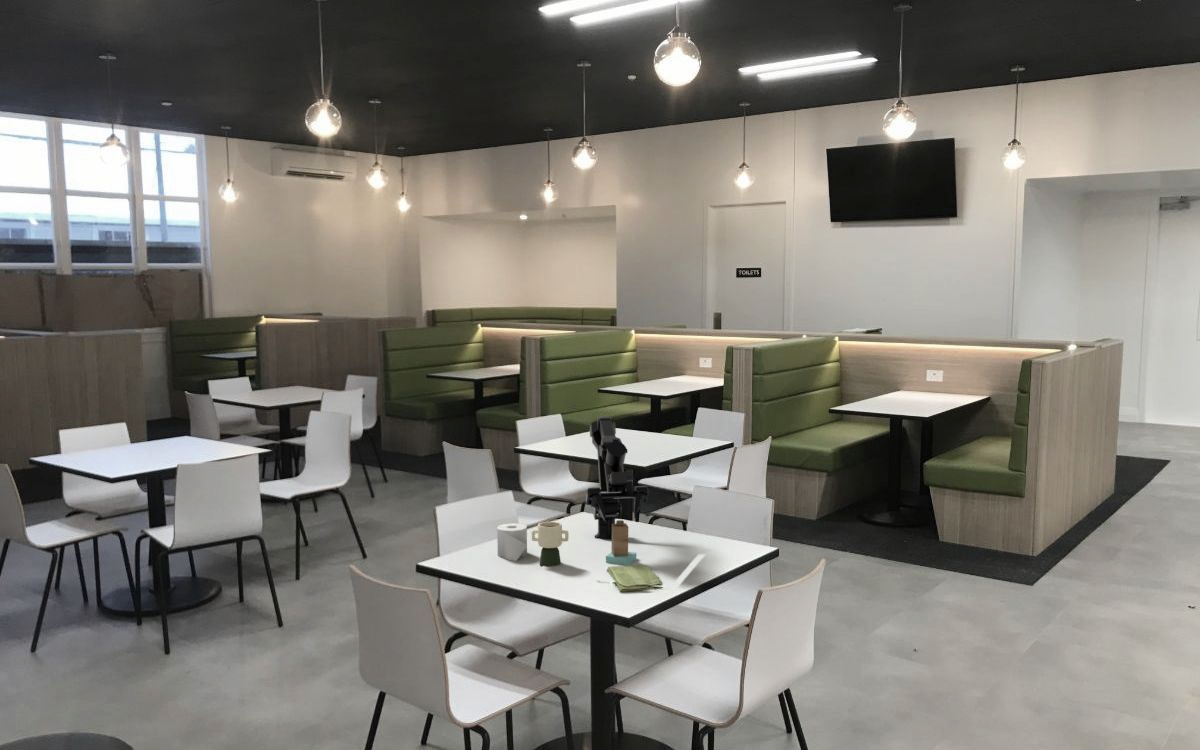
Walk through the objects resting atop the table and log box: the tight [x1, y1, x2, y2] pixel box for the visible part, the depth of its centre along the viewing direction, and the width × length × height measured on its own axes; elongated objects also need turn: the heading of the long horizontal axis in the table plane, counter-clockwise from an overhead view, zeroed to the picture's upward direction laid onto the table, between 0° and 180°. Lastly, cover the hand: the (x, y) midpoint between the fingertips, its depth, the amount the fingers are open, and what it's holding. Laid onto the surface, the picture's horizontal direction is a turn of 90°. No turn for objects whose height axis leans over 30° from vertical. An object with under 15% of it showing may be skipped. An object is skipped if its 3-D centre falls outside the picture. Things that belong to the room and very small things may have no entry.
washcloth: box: [606, 564, 664, 593], centre depth 255 cm, size 13×18×3 cm
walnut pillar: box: [611, 519, 629, 557], centre depth 270 cm, size 4×4×10 cm
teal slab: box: [605, 551, 637, 566], centre depth 271 cm, size 7×7×2 cm
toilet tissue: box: [496, 522, 528, 562], centre depth 282 cm, size 9×13×9 cm
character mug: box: [531, 521, 569, 568], centre depth 268 cm, size 11×7×13 cm, turn 86°
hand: (620, 519), depth 271 cm, fingers open, 9 cm apart
